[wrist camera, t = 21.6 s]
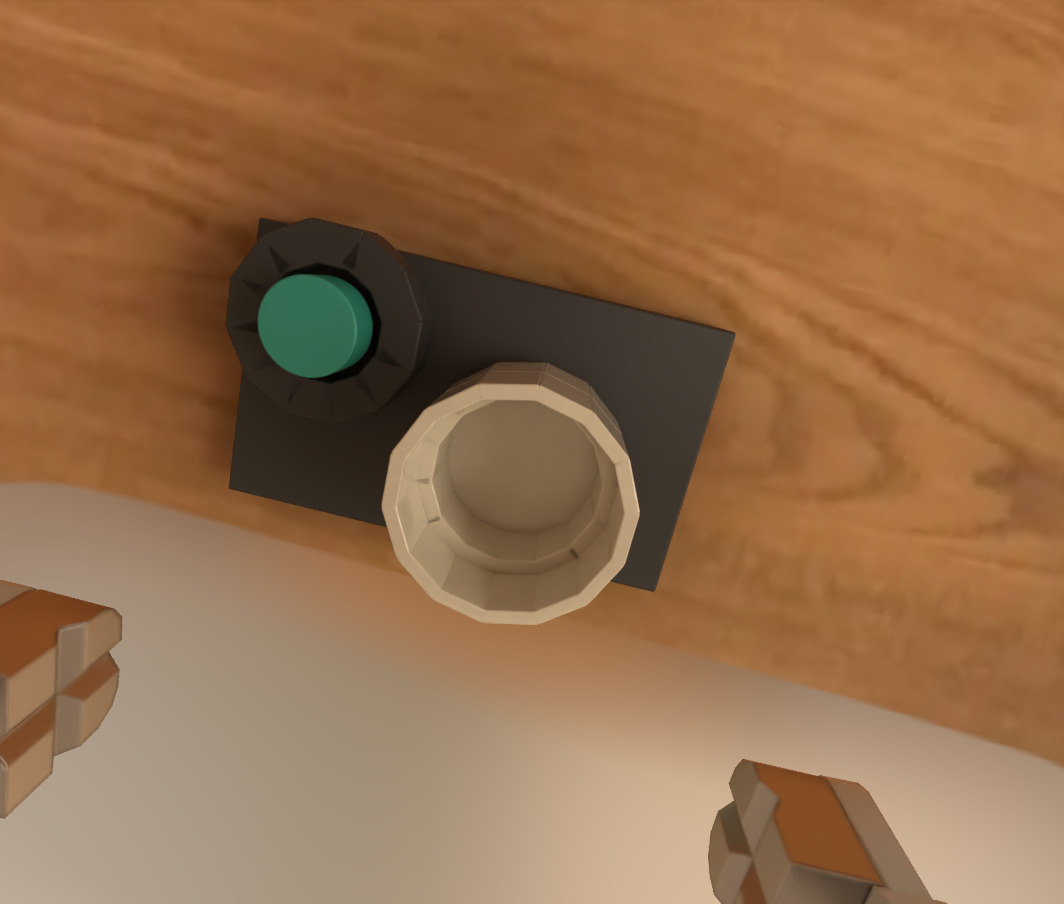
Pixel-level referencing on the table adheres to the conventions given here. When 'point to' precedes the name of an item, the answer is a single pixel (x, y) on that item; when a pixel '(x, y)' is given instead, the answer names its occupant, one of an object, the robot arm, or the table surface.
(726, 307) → the table surface
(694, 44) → the table surface
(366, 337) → the button
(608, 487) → the beige cup
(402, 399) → the scale
